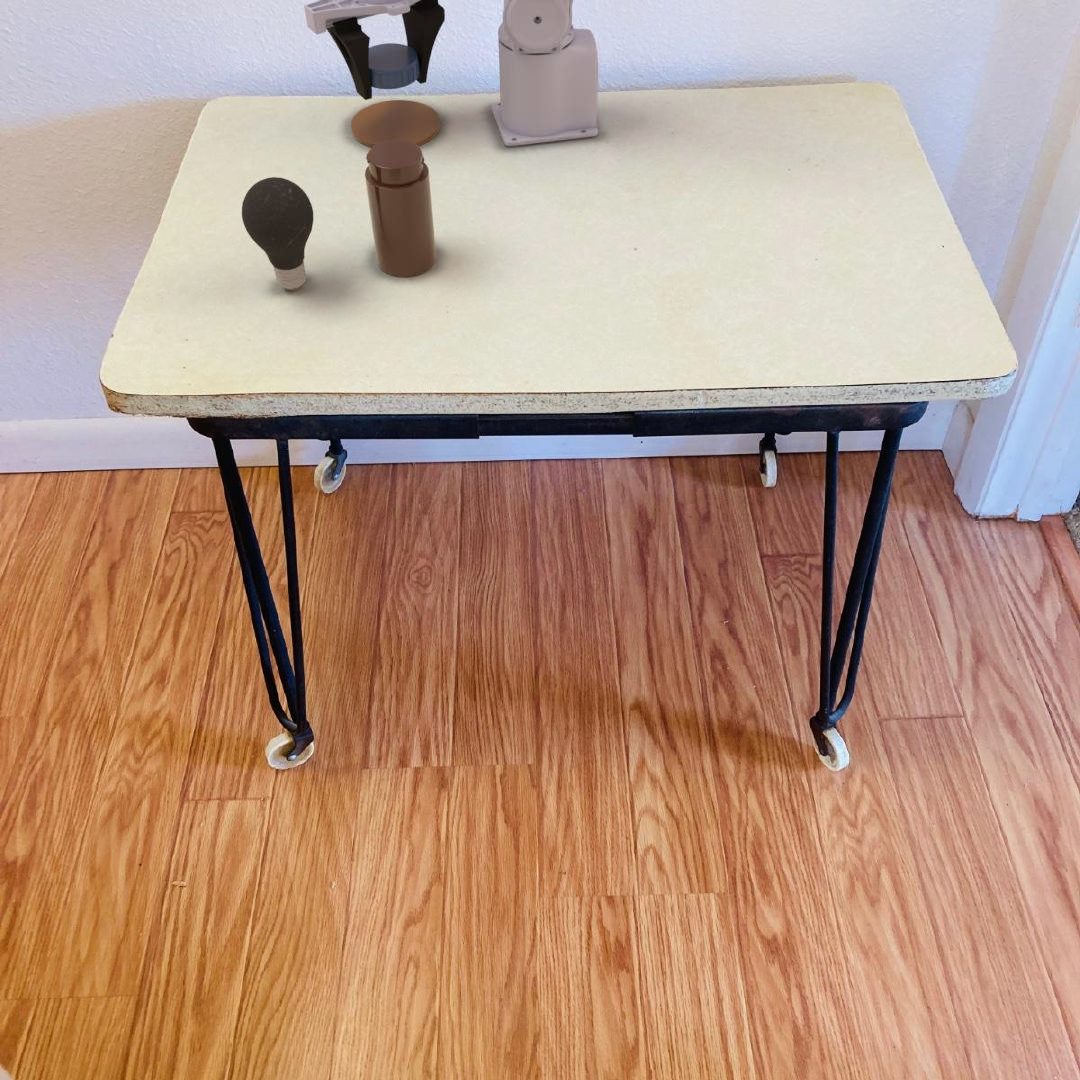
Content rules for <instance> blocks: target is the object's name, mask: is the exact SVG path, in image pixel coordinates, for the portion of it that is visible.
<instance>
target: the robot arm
mask: <svg viewBox="0 0 1080 1080" xmlns="http://www.w3.org/2000/svg"><path fill="white" fill-rule="evenodd" d="M573 4H574V0H503V10H502V22H501V24H500V25H499V27H498V28H497V29H498V30H497V37H498V38H497V39H498V41H497V42H498V69H499V71H498V72H499V101H498V102H493V103H492V104H490V110H491V112H492V114H493V117H494V120H495V122H496V125H497V128H498V130H499V133H500V136H501V139H502V142H503V144H504V145H505V146H507V147H514V146H524V145H530V144H539V143H549V142H557V141H566V140H567V141H568V140H573V139H583V138H591V137H597V136H598V134H599V130H598V127H597V118H598V117H597V116H598V113H597V112H598V95H599V93H598V92H599V55H598V49H597V43H596V39H595V36H594V34H593V32H592V30H591V29H588V28H574V24H573ZM303 9H304V13H305V20H306V26H307V27H308V28H309V29H310V30H311V31H312V33H314V34H315V35H320V34H324V33H326V32H328V34H329V35H330V37H331V38H332V40H333V41H334V43H335V44H336V46H337V48H338V50H339V51H340V54H341V55H342V57H343V59H344V61H345V63H346V66H347V67H348V70H349V73H350V75H351V78H352V81H353V84H354V88H355V91H356V93H357V94H358V95H359V96H360V97H361V98H363V100H365V101H367V100H371V99H373V87H372V86H371V79H370V73H369V48H370V41H371V37H370V36H368V35H367V34H366V32H364V31H363V27H362V24H359V22H358V21H359V20H362V19H366V18H370V17H373V16H377V15H381V14H388V15H389V16H393V17H395V16H399V15H401V17H402V21H403V25H404V26H403V27H404V32H405V37H406V46H409V47H411V48H413V49H414V50H415V51H416V53H417V57H418V61H419V71H420V74H419V76H418V78H417V79H416V81H417V83H419V84H420V85H422V84H425V83H427V80H428V79H427V78H428V72H429V66H430V60H431V57H432V52H433V49H434V45H435V42H436V39H437V37H438V35H439V32H440V30H441V28H442V26H443V24H444V23H445V19H446V11H445V7H443V6H442V5H441V4H440V3H439V0H316V1H314V2H311V3H307V4H304V5H303Z"/></svg>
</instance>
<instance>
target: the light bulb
mask: <svg viewBox="0 0 1080 1080" xmlns="http://www.w3.org/2000/svg"><path fill="white" fill-rule="evenodd" d="M241 219H242V222H243V223H242V224H243V226H244V228H245V231H246V232H247V234H248V236H249V238H251V240H252V241H253V242H254V243H255V244H256V245H257V246H258V247H259V248H260V249H261V250H262V251H263V252H264V253H265V254H266V256H267V258H268V261H269V262H270V264H271V265H272V267H273V271H274V276H275V279H276V281H277V284H278V285H279V286H280V287H282V288H283V289H287V290H289V291H297V290H298V289H299V288H300V287H301V286H303V285H304V284H305V283H306V280H307V273H306V267H305V262H304V261H305V248H306V244H307V242H308V240H309V238H310V236H311V233H312V230H313V224H314V209H313V205H312V202H311V200H310V198H309V196H308V195H307V193H306V192H305V191H304V190H303V188H302V187H300V186H299V185H298V184H297V183H295V182H294V181H292V180H289V179H287V178H284V177H278V176H277V177H276V176H273V177H272V176H271V177H266V178H263V179H261V180H259V181H257V182H255V183H254V184H252V186H251V187H250V188H249V189H248V190H247V192H246V193H245V196H244V198H243V200H242V203H241Z"/></svg>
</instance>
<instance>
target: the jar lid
mask: <svg viewBox="0 0 1080 1080" xmlns="http://www.w3.org/2000/svg"><path fill="white" fill-rule="evenodd" d="M369 73H370V79H371V86H372V88H375V89H379V90H397V89H402V88H405V87H407V86H410V85H411V84H413V83H415V82H416V81H417V80H416V79H417V78H418V76H419V74H420V71H419V61H418V57H417V53H416V51H415V50H414V49H413V48H411V47H409V46H407V44H402V43H394V42H393V43H391V42H390V43H388V42H387V43H379V44H375V45H372V46H369Z"/></svg>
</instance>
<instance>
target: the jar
mask: <svg viewBox="0 0 1080 1080" xmlns="http://www.w3.org/2000/svg"><path fill="white" fill-rule="evenodd" d="M365 160H366V162H367V164H368V165H367V167H366V169H365V171H364V178H365V185H366V193H367V199H368V207H369V214H370V222H371V228H372V235H373V244H374V250H375V257H376V263H377V267H378V268H379V269H380V270H381V271H382V272H383V273H385V274H387V275H390V276H393V277H397V278H411V277H417V276H420V275H422V274H425V273H427V272H428V271H430V270H431V269H432V268H433V267H434V266H435V264H436V262H437V249H436V248H437V247H436V238H435V226H434V215H433V214H434V213H433V204H432V203H433V202H432V192H431V180H430V170H429V167H428V164H427V163H425V157H424V154H423V151H422V149H421V148H420V146H417V145H416V144H414V143H412V142H409V141H404V140H390V141H385V142H382V143H379V144H377V145H375V146H374V147H370V149H369V150H368V152H367V153H366V157H365Z"/></svg>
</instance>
